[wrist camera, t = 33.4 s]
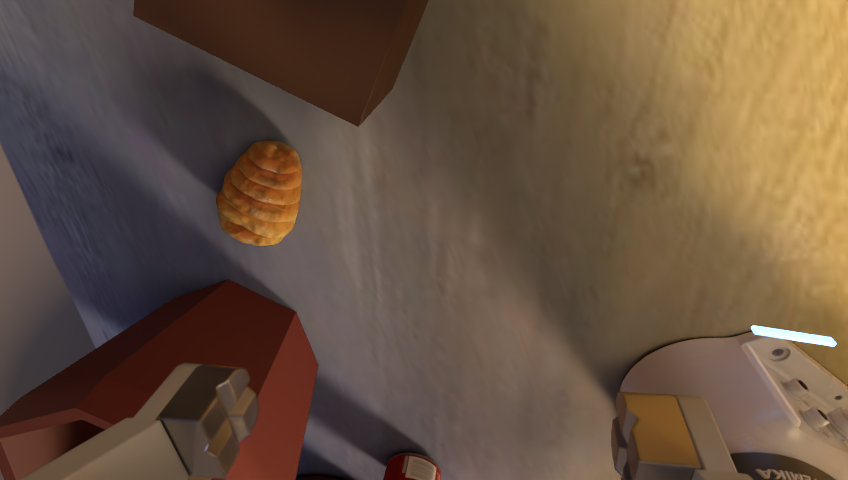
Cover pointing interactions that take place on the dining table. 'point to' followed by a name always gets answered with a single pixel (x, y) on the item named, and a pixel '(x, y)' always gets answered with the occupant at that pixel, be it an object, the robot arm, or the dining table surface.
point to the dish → (317, 478)
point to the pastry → (261, 194)
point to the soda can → (411, 468)
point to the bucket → (155, 360)
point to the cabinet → (302, 43)
